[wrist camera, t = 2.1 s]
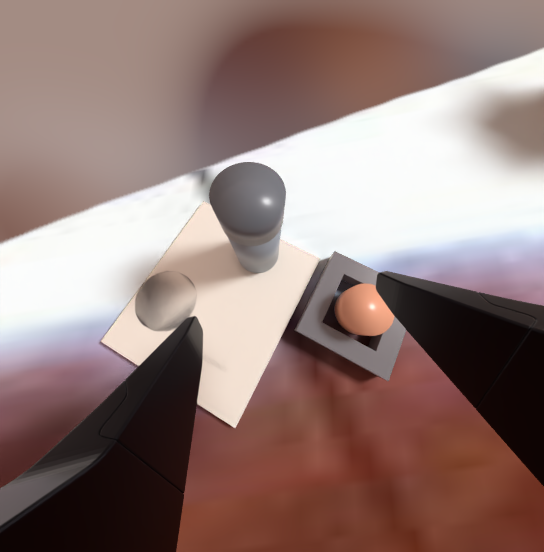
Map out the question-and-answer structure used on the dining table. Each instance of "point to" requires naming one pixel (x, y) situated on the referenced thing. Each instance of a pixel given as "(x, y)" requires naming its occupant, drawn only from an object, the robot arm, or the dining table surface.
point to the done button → (363, 311)
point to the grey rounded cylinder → (250, 212)
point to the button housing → (310, 325)
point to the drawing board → (215, 310)
